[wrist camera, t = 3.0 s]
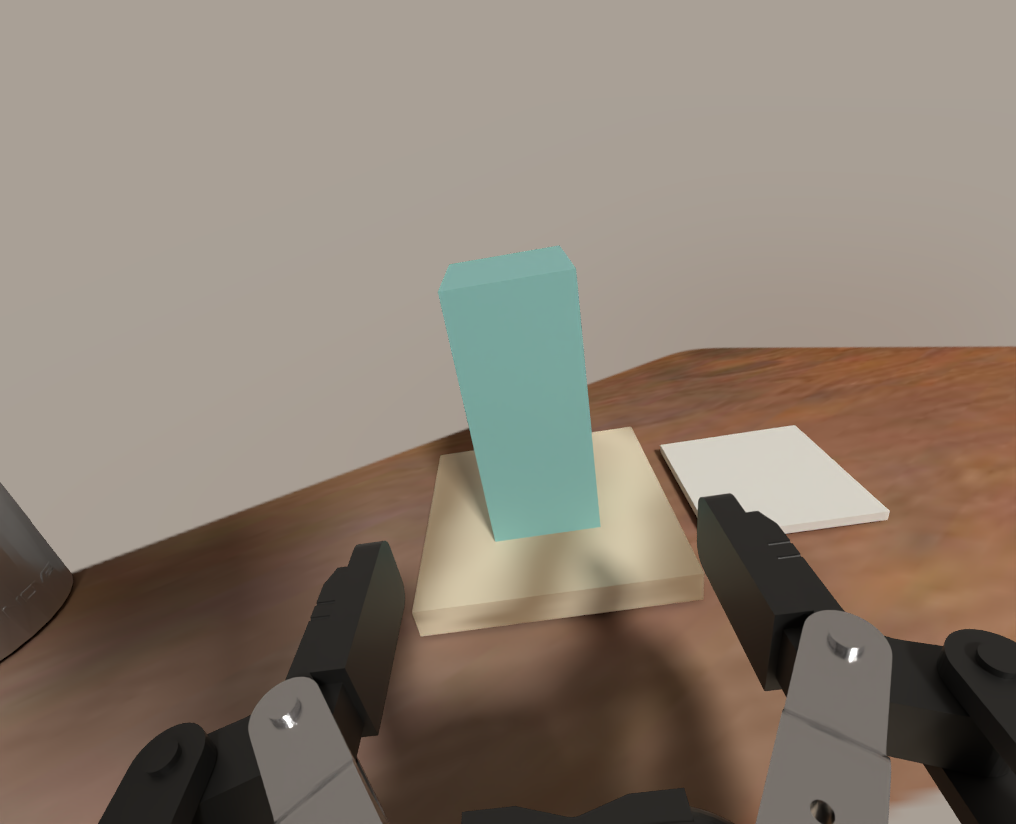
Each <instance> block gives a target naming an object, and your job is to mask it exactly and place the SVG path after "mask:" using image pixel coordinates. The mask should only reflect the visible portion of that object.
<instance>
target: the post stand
mask: <svg viewBox="0 0 1016 824" xmlns="http://www.w3.org/2000/svg"><path fill="white" fill-rule="evenodd" d="M592 442H593V453H594V463H595V474H596V484H597V495H598V505H599V515H600V526H601V527H597V528H590V529H583V530H576V531H569V532H562V533H554V534H547V535H540V536H533V537H526V538H519V539H512V540H505V541H497V542H495V538H494V534H493V530H492V525H491V521H490V517H489V512H488V508H487V504H486V499H485V495H484V490H483V486H482V482H481V477H480V473H479V469H478V464H477V460H476V456H475V451H474V450H473V451H466V452H459V453H453V454H446V455H441V456H440V461H439V467H438V472H437V478H436V483H435V489H434V494H433V500H432V505H431V511H430V516H429V522H428V527H427V533H426V538H425V544H424V549H423V555H422V560H421V566H420V571H419V577H418V582H417V588H416V593H415V599H414V604H413V610H412V614H413V617H414V619H415V622H416V625H417V628H418V630H419V633H420V636H428V635H436V634H444V633H451V632H459V631H467V630H474V629H482V628H490V627H497V626H505V625H512V624H520V623H528V622H535V621H543V620H551V619H558V618H566V617H574V616H581V615H589V614H597V613H604V612H612V611H619V610H627V609H635V608H642V607H650V606H658V605H665V604H673V603H681V602H688V601H696V600H703V597H704V572H703V570H702V568H701V566H700V564H699V562H698V560H697V558H696V556H695V554H694V552H693V550H692V548H691V546H690V544H689V542H688V540H687V538H686V536H685V534H684V532H683V530H682V528H681V526H680V524H679V522H678V520H677V518H676V516H675V514H674V512H673V510H672V508H671V506H670V504H669V502H668V500H667V498H666V496H665V494H664V492H663V490H662V488H661V486H660V484H659V482H658V480H657V478H656V476H655V474H654V472H653V470H652V468H651V466H650V464H649V462H648V460H647V458H646V456H645V454H644V452H643V450H642V448H641V446H640V444H639V442H638V440H637V438H636V436H635V434H634V432H633V430H632V428H631V427H625V428H618V429H612V430H605V431H599V432H592Z"/></svg>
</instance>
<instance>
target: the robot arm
mask: <svg viewBox="0 0 1016 824" xmlns="http://www.w3.org/2000/svg"><path fill="white" fill-rule="evenodd" d="M697 548H698V554H699V558H700V561H701V564H702V567H703V569H704V571H705V573H706V575H707V577H708V579H709V581H710V583H711V585H712V587H713V589H714V591H715V593H716V595H717V597H718V599H719V601H720V603H721V605H722V607H723V609H724V611H725V613H726V615H727V617H728V619H729V621H730V623H731V625H732V627H733V629H734V631H735V633H736V635H737V637H738V639H739V641H740V643H741V645H742V647H743V649H744V651H745V653H746V655H747V657H748V659H749V661H750V663H751V665H752V667H753V669H754V671H755V673H756V675H757V677H758V679H759V681H760V683H761V685H762V687H763V689H764V691H771V690H779V689H782V690H783V692H784V694H785V696H786V698H787V699H786V703H785V707H784V709H783V711H782V715H781V719H780V723H779V727H778V731H777V735H776V740H775V744H774V748H773V752H772V757H771V761H770V765H769V769H768V774H767V778H766V782H765V786H764V791H763V795H762V799H761V803H760V808H759V812H758V816H757V820H756V824H888V817H889V800H890V783H891V761H890V758H889V757H888V756H891V757H895V758H900V759H904V760H909V761H913V762H918V763H923V765H924V766H925V768H926V769H927V771H928V772H929V774H930V775H931V777H932V779H933V780H934V782H935V783H936V785H937V786H938V788H939V790H940V791H941V793H942V794H943V796H944V797H945V799H946V801H947V802H948V804H949V805H950V806H951V808H952V810H953V811H954V813H955V815H956V816H957V818H958V819H959V821H960V822H961V824H1016V642H1014V641H1012V640H1010V639H1008V638H1005V637H1003V636H1001V635H998V634H995V633H991V632H987V631H983V630H976V629H964V630H958V631H955V632H953V633H951V634H950V635H949V636H948V637H947V638H946V640H945V643H944V645H943V646H938V645H932V644H925V643H918V642H911V641H905V640H899V639H894V638H890V637H886V636H883V634H882V633H881V632H880V631H879V630H878V629H877V628H875V627H874V626H873V625H872V624H870V623H869V622H867V621H865V620H864V619H862V618H860V617H858V616H855V615H853V614H850V613H847V612H845V611H844V610H843V609H842V608H841V606H840V605H839V604H838V603H837V601H836V600H835V599H834V597H833V596H832V595H831V593H830V592H829V591H828V589H827V588H826V587H825V586H824V584H823V583H822V582H821V580H820V579H819V578H818V576H817V575H816V574H815V572H814V571H813V570H812V568H811V567H810V566H809V565H808V563H807V562H806V561H805V559H804V558H803V557H801V556H800V553H799V551H798V550H797V549H796V547H795V546H794V545H793V544H792V543H790V540H789V538H788V537H787V536H786V534H785V533H784V532H783V530H782V529H781V528H780V526H779V525H778V524H777V523H776V522H774V521H773V520H771V519H770V518H768V517H767V516H765V515H764V514H762V513H761V512H759V511H752V512H745V511H744V509H743V508H742V506H741V505H740V503H739V502H738V501H737V499H736V498H735V496H734V495H733V494H731V493H727V494H720V495H713V496H706V497H700V498H699V500H698V521H697ZM72 584H73V577H72V573H71V572H70V571H69V570H68V568H67V567H66V566H65V565H64V563H63V562H62V561H61V560H60V558H59V557H58V556H57V554H56V553H55V552H54V551H53V549H52V548H51V547H50V546H49V544H48V543H47V542H46V540H45V539H44V538H43V537H42V535H41V534H40V533H39V531H38V530H37V529H36V528H35V526H34V525H33V524H32V522H31V521H30V519H29V518H28V517H27V516H26V514H25V513H24V512H23V511H22V509H21V508H20V507H19V505H18V504H17V503H16V502H15V500H14V499H13V498H12V497H11V495H10V494H9V493H8V491H7V490H6V489H5V488H4V486H3V485H2V484H1V483H0V660H2V659H3V658H5V657H6V656H8V655H9V654H11V653H12V652H13V651H14V650H16V649H17V648H18V647H19V646H21V645H22V644H23V643H24V642H26V641H27V640H28V639H29V638H31V637H32V636H33V635H34V634H35V633H36V632H37V631H38V630H39V629H41V628H42V627H43V626H44V625H45V624H46V623H47V622H48V621H49V620H50V619H51V618H52V617H53V615H54V614H55V613H56V612H57V611H58V609H59V608H60V607H61V606H62V605H63V603H64V601H65V600H66V598H67V597H68V595H69V593H70V591H71V588H72ZM404 603H405V593H404V586H403V582H402V579H401V576H400V573H399V570H398V568H397V565H396V562H395V559H394V557H393V554H392V551H391V548H390V546H389V544H388V542H387V541H380V542H373V543H365V544H358V545H356V546H355V548H354V550H353V553H352V556H351V559H350V561H349V564H348V567H340V568H337V569H336V571H335V572H334V573H333V574H332V575H331V577H330V578H329V579H328V580H327V581H326V582H325V584H324V585H323V588H322V590H321V593H320V595H319V598H318V600H317V606H315V608H314V610H313V613H312V615H311V621H309V623H308V625H307V628H306V630H305V633H304V635H303V638H302V640H301V643H300V645H299V648H298V650H297V653H296V655H295V658H294V660H293V663H292V665H291V668H290V670H289V673H288V675H287V677H286V680H285V681H283V682H281V683H280V684H278V685H276V686H275V687H273V688H272V689H271V690H270V691H269V692H267V693H266V694H265V695H264V696H263V697H262V699H261V700H260V701H259V702H258V704H257V705H256V707H255V709H254V710H253V712H252V715H250V716H248V717H246V718H244V719H241V720H239V721H237V722H235V723H232V724H230V725H228V726H225V727H223V728H221V729H218V730H216V731H214V732H212V733H209V734H206V732H205V731H204V730H203V729H202V727H200V726H199V725H197V724H195V723H183V724H179V725H176V726H174V727H171V728H169V729H167V730H165V731H164V732H162V733H161V734H159V735H158V736H156V737H155V738H154V739H153V740H151V741H150V742H149V743H148V744H147V745H146V746H145V747H144V748H143V749H142V750H141V751H140V752H139V754H138V755H137V756H136V758H135V759H134V760H133V762H132V763H131V765H130V767H129V768H128V770H127V772H126V774H125V776H124V778H123V779H122V781H121V783H120V785H119V787H118V788H117V790H116V792H115V794H114V796H113V798H112V799H111V801H110V803H109V805H108V807H107V808H106V810H105V812H104V814H103V816H102V818H101V819H100V821H99V823H98V824H390V823H389V821H388V818H387V816H386V814H385V812H384V810H383V808H382V806H381V804H380V802H379V800H378V798H377V796H376V794H375V792H374V790H373V788H372V786H371V784H370V782H369V780H368V777H367V775H366V773H365V771H364V769H363V767H362V765H361V763H360V761H359V759H358V757H357V753H358V749H359V745H360V740H361V737H367V736H376V735H378V734H379V729H380V724H381V719H382V714H383V709H384V704H385V699H386V694H387V689H388V684H389V679H390V674H391V669H392V664H393V659H394V655H395V650H396V645H397V640H398V635H399V630H400V625H401V620H402V615H403V610H404ZM461 824H734V823H732V822H731V821H729V820H727V819H725V818H723V817H721V816H718V815H716V814H714V813H711V812H708V811H706V810H703V809H700V808H695V807H690V806H689V803H688V800H687V796H686V793H685V789H684V788H678V789H669V790H659V791H650V792H641V793H632V794H627V795H625V796H623V797H620V798H618V799H616V800H614V801H611V802H609V803H607V804H605V805H602V806H600V807H598V808H596V809H593V810H591V811H589V812H587V813H584V814H582V815H580V816H577V817H565V816H560V815H556V814H551V813H546V812H541V811H536V810H532V809H527V808H522V807H517V806H512V807H503V808H494V809H485V810H476V811H466V812H462V822H461Z"/></svg>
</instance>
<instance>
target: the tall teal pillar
mask: <svg viewBox="0 0 1016 824" xmlns="http://www.w3.org/2000/svg"><path fill="white" fill-rule="evenodd" d="M438 294H439V299H440V303H441V307H442V312H443V316H444V320H445V325H446V329H447V333H448V337H449V342H450V347H451V351H452V355H453V360H454V364H455V368H456V373H457V377H458V382H459V386H460V390H461V395H462V399H463V403H464V408H465V412H466V416H467V421H468V425H469V429H470V434H471V438H472V443H473V447H474V451H475V456H476V460H477V464H478V469H479V473H480V477H481V482H482V486H483V490H484V495H485V499H486V504H487V508H488V512H489V517H490V521H491V525H492V530H493V534H494V538H495V542H497V541H505V540H512V539H519V538H526V537H533V536H540V535H547V534H554V533H562V532H569V531H576V530H583V529H590V528H597V527H601V526H600V515H599V505H598V495H597V484H596V474H595V463H594V453H593V442H592V432H591V421H590V411H589V400H588V390H587V380H586V370H585V359H584V349H583V338H582V327H581V317H580V306H579V296H578V286H577V275H576V268H575V267H574V265H573V264H572V262H571V261H570V260H569V258H568V257H567V255H566V254H565V253H564V251H563V250H562V249H561V247H560V246H554V247H548V248H542V249H536V250H531V251H525V252H519V253H513V254H507V255H502V256H496V257H490V258H484V259H479V260H472V261H467V262H462V263H455V264H450V265H449V267H448V269H447V271H446V274H445V276H444V279H443V281H442V283H441V286H440V288H439V291H438Z"/></svg>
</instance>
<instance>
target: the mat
mask: <svg viewBox="0 0 1016 824" xmlns="http://www.w3.org/2000/svg"><path fill="white" fill-rule="evenodd" d="M660 448H661V454H662V455H663V457H664V459H665V461H666V463H667V464H668V466H669V468H670V470H671V472H672V473H673V475H674V477H675V479H676V481H677V482H678V484H679V486H680V488H681V490H682V491H683V493H684V495H685V497H686V499H687V500H688V502H689V504H690V506H691V508H692V509H693V511H694V513H695V515H696V517H697V518H698V500H699V498H700V497H706V496H713V495H720V494H727V493H731V494H733V495H734V496H735V498H736V499H737V501H738V502H739V503H740V505H741V506H742V508H743V509H744V511H745V512H752V511H759V512H761V513H762V514H764V515H765V516H767V517H768V518H770V519H771V520H773V521H774V522H776V523H777V524H778V525H779V526H780V528H781V529H782V530H783V532H784V533H785V534H787V533H794V532H801V531H809V530H816V529H823V528H831V527H838V526H845V525H853V524H860V523H867V522H875V521H882V520H888V517H889V513H890V511H889V510H888V509H887V508H886V507H885V506H884V505H883V504H881V503H880V502H879V501H878V500H877V499H876V498H875V497H874V496H873V495H871V494H870V493H869V492H868V491H867V490H866V489H865V488H864V487H863V486H861V485H860V484H859V483H858V482H857V481H856V480H855V479H854V478H853V477H852V476H850V475H849V474H848V473H847V472H846V471H845V470H844V469H843V468H842V467H840V466H839V465H838V464H837V463H836V462H835V461H834V460H833V459H832V458H830V457H829V456H828V455H827V454H826V453H825V452H824V451H823V450H822V449H820V448H819V447H818V446H817V445H816V444H815V443H814V442H813V441H812V440H811V439H809V438H808V437H807V436H806V435H805V434H804V433H803V432H802V431H801V430H799V429H798V428H797V427H796V426H795V425H793V426H786V427H779V428H772V429H766V430H759V431H752V432H745V433H739V434H732V435H725V436H719V437H712V438H705V439H698V440H692V441H685V442H678V443H671V444H665V445H660Z"/></svg>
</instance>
